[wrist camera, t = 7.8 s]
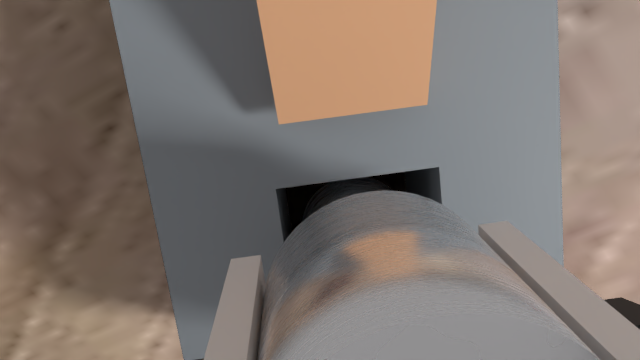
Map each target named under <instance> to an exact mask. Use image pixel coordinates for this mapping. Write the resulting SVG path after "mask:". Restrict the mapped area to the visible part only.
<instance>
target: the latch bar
mask: <svg viewBox="0 0 640 360" xmlns="http://www.w3.org/2000/svg"><path fill="white" fill-rule="evenodd" d="M256 1H257V6H258V12H259V17H260V23H261V29H262V34H263V40H264V45H265V51H266V56H267V62H268V68H269V73H270V79H271V84H272V90H273V95H274V101H275V106H276V112H277V118H278V123H279V124H286V123H294V122H301V121H309V120H316V119H324V118H332V117H339V116H347V115H354V114H362V113H369V112H377V111H384V110H392V109H399V108H407V107H414V106H422V105H427V104H428V93H429V82H430V71H431V60H432V49H433V38H434V27H435V16H436V5H437V0H256Z"/></svg>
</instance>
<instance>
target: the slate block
mask: <svg viewBox="0 0 640 360" xmlns="http://www.w3.org/2000/svg"><path fill="white" fill-rule="evenodd" d="M109 2H110V7H111V12H112V16H113V21H114V26H115V31H116V36H117V41H118V45H119V50H120V55H121V60H122V65H123V69H124V74H125V79H126V84H127V89H128V93H129V98H130V103H131V108H132V113H133V118H134V122H135V127H136V132H137V137H138V142H139V146H140V151H141V156H142V161H143V166H144V171H145V175H146V180H147V185H148V190H149V195H150V199H151V204H152V209H153V214H154V219H155V224H156V228H157V233H158V238H159V243H160V248H161V252H162V257H163V262H164V267H165V272H166V276H167V281H168V286H169V291H170V296H171V301H172V305H173V310H174V315H175V320H176V325H177V329H178V334H179V339H180V344H181V349H182V354H183V358H184V360H196V359H203V358H204V356H205V353H206V349H207V345H208V342H209V338H210V334H211V331H212V327H213V323H214V320H215V316H216V312H217V309H218V305H219V301H220V298H221V294H222V290H223V286H224V283H225V279H226V275H227V272H228V268H229V264H230V261H231V259H234V258H242V257H249V256H256V255H261V259H262V265H263V271H264V277H265V284H266V281H267V276H268V273H269V270H270V267H271V265H272V262H273V260H274V258H275V256H276V254H277V252H278V250H279V249H280V247H281V246H282V244H283V243H284V241H285V240H286V238H287V237H288V236H289V235H290V234H291V233H292V229H291V222H290V215H289V209H288V202H287V195H286V188H287V187H294V186H302V185H309V184H317V183H324V182H331V181H339V180H346V179H354V178H361V177H369V176H376V175H383V174H391V173H398V172H404V177H405V188H406V192H407V193H413V194H417V195H420V196H423V197H426V198H429V199H432V200H434V201H436V202H438V203H440V204H442V205H444V206H446V207H447V208H449V209H450V210H452V211H453V212H455V213H456V214H457V215H458V216H460V217H461V218H462V219H463V220H464V221H465V222H466V223H467V224H468V225H469V226H470V227H471V228H472V229H473V230H474V231H475V232H476V233H477V234H478V235H479V232H478V225H481V224H488V223H495V222H503V221H508V222H509V223H511V224H512V225H513V226H514V227H515V228H517V229H518V230H519V231H520V232H522V233H523V234H524V235H525V236H526V237H528V238H529V239H530V240H531V241H533V242H534V243H535V244H536V245H537V246H539V247H540V248H541V249H542V250H543V251H545V252H546V253H547V254H548V255H550V256H551V257H552V258H553V259H554V260H556V261H557V262H558V263H559V264H561V265H562V266H563V223H562V180H561V136H560V93H559V50H558V6H557V0H437V5H436V16H435V27H434V38H433V49H432V60H431V71H430V82H429V93H428V104H427V105H422V106H414V107H407V108H399V109H392V110H384V111H377V112H369V113H362V114H354V115H347V116H339V117H332V118H324V119H316V120H309V121H301V122H294V123H286V124H279V123H278V118H277V112H276V106H275V101H274V95H273V90H272V84H271V79H270V73H269V68H268V62H267V56H266V51H265V45H264V40H263V34H262V29H261V23H260V17H259V12H258V6H257V1H256V0H109Z"/></svg>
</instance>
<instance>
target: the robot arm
mask: <svg viewBox="0 0 640 360" xmlns="http://www.w3.org/2000/svg"><path fill="white" fill-rule="evenodd" d="M478 232H479V236H480V237H481V238H482V239H483V240H484V241H485V242H486V243H487V244H488V245H489V246H490V247H491V248H492V249H493V250H494V251H495V252H496V253H497V254H498V255H499V256H500V257H501V258H502V259H503V260H504V261H505V262H506V263H507V264H508V265H509V266H510V268H511V269H512V270H513V271H514V272H515V273H516V274H517V275H518V276H519V277H520V278H521V279H522V280H523V281H524V282H525V283H526V284H527V285H528V286H529V287H530V288H531V289H532V290H533V291H534V292H535V293H536V294H537V295H538V296H539V297H540V298H541V299H542V300H543V301H544V302H545V303H546V304H547V305H548V306H549V307H550V308H551V309H552V310H553V311H554V312H555V314H556V315H557V316H558V317H559V318H560V319H561V320H562V321H563V322H564V323H565V324H566V325H567V326H568V327H569V328H570V329H571V330H572V331H573V332H574V333H575V334H576V335H577V336H578V337H579V338H580V339H581V340H582V341H583V342H584V343H585V344H586V345H587V346H588V347H589V348H590V349H591V350H592V351H593V352H594V353H595V354H596V355H597V356H598V357H599V359H600V360H640V305H639V304H636V303H634V302H631V301H629V300H626V299H624V298H614V299H607V300H603V299H602V298H601V297H599V296H598V295H597V294H596V293H595V292H593V291H592V290H591V289H590V288H589V287H587V286H586V285H585V284H584V283H582V282H581V281H580V280H579V279H578V278H576V277H575V276H574V275H573V274H571V273H570V272H569V271H568V270H567V269H565V268H564V267H563V266H562V265H561V264H559V263H558V262H557V261H556V260H554V259H553V258H552V257H551V256H550V255H548V254H547V253H546V252H545V251H543V250H542V249H541V248H540V247H539V246H537V245H536V244H535V243H534V242H533V241H531V240H530V239H529V238H528V237H526V236H525V235H524V234H523V233H522V232H520V231H519V230H518V229H517V228H515V227H514V226H513V225H512V224H511V223H509V222H508V221H503V222H495V223H488V224H481V225H478ZM265 286H266V284H265V277H264V271H263V265H262V259H261V255H256V256H249V257H242V258H234V259H231V261H230V264H229V268H228V272H227V275H226V279H225V283H224V286H223V290H222V294H221V298H220V301H219V305H218V309H217V312H216V316H215V320H214V323H213V327H212V331H211V334H210V338H209V342H208V345H207V349H206V353H205V356H204V358H203V359H196V360H257V359H258V350H259V340H260V330H261V320H262V311H263V301H264V291H265Z"/></svg>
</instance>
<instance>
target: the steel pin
mask: <svg viewBox="0 0 640 360" xmlns="http://www.w3.org/2000/svg"><path fill="white" fill-rule="evenodd" d="M257 360H600V359H599V357H598V356H597V355H596V354H595V353H594V352H593V351H592V350H591V349H590V348H589V347H588V346H587V345H586V344H585V343H584V342H583V341H582V340H581V339H580V338H579V337H578V336H577V335H576V334H575V333H574V332H573V331H572V330H571V329H570V328H569V327H568V326H567V325H566V324H565V323H564V322H563V321H562V320H561V319H560V318H559V317H558V316H557V315H556V314H555V312H554V311H553V310H552V309H551V308H550V307H549V306H548V305H547V304H546V303H545V302H544V301H543V300H542V299H541V298H540V297H539V296H538V295H537V294H536V293H535V292H534V291H533V290H532V289H531V288H530V287H529V286H528V285H527V284H526V283H525V282H524V281H523V280H522V279H521V278H520V277H519V276H518V275H517V274H516V273H515V272H514V271H513V270H512V269H511V268H510V266H509V265H508V264H507V263H506V262H505V261H504V260H503V259H502V258H501V257H500V256H499V255H498V254H497V253H496V252H495V251H494V250H493V249H492V248H491V247H490V246H489V245H488V244H487V243H486V242H485V241H484V240H483V239H482V238H481V237H480V236H479V235H478V234H477V233H476V232H475V231H474V230H473V229H472V228H471V227H470V226H469V225H468V224H467V223H466V222H465V221H464V220H463V219H462V218H461V217H460V216H458V215H457V214H456V213H455V212H453V211H452V210H450V209H449V208H447V207H446V206H444V205H442V204H440V203H438V202H436V201H434V200H432V199H429V198H426V197H423V196H420V195H417V194H413V193H407V192H402V191H393V190H392V189H391V188H390V187H388V186H387V185H386V184H384V183H383V182H381V181H379V180H377V179H374V178H371V177H361V178H354V179H346V180H339V181H331V182H329V183H327V184H325V185H324V186H322V187H321V188H320V189H319V190H318V191H317V192H316V193H315V194H314V195H313V196H312V197H311V199H310V200H309V202H308V204H307V206H306V208H305V210H304V213H303V217H302V222H301V223H300V224H299V225H298V226H297V227H296V228H295V229H294V230H293V232H292V233H291V234H290V235H289V236H288V237H287V238H286V240H285V241H284V243H283V244H282V246H281V247H280V249H279V250H278V252H277V254H276V256H275V258H274V260H273V262H272V265H271V267H270V270H269V273H268V276H267V281H266V286H265V291H264V301H263V311H262V320H261V330H260V340H259V350H258V359H257Z"/></svg>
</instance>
